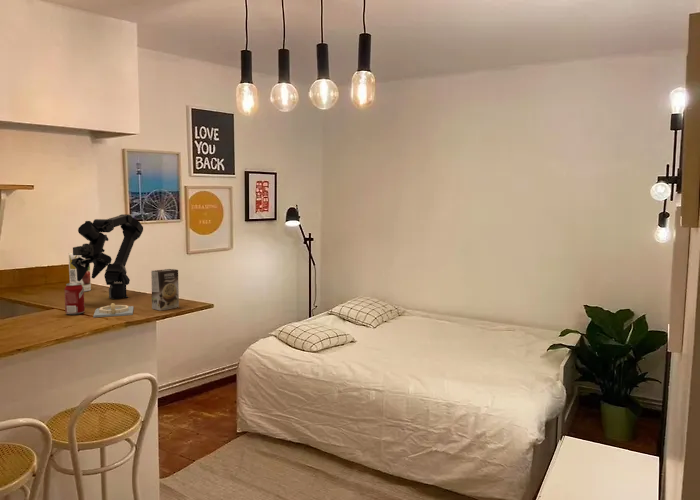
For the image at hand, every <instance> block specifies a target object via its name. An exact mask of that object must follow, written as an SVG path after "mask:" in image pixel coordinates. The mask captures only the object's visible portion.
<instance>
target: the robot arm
mask: <svg viewBox="0 0 700 500" xmlns="http://www.w3.org/2000/svg"><path fill="white" fill-rule="evenodd" d="M119 226H120V229H121V230H122V234H123V239H122V242H121V244H120V246H119V249H118V252H117V255H116V257H115V259H114V262H112V260H113V259H112V257H111V256H110V255H108V254H106V253H105V250H106V249H104V247H105V243H106V241H107V242H108V241H109V237H108V236H107V234H105V233H111V232H112V231H114V229H115V228H117V227H119ZM77 231H78V233H79V235H81V237H83V238H84V239H85V240H87V241H89V242H88V243H83V244H82V245H79V246H78V245H77V246H74V247H72V253H73V255H82V256H81V257H83V258H85V259H82V258H80V257H79V258H75V259H72V262H71V264H72V265H73V266H75V268H76V270H77V281H81V279H82V278H83V276H84V275H85V273H86V272H87V271H88V267H89V265H90V266H91V264H93V269H92V273H91V279H95V278H96V277H97V276H98V275H99V274H101V272H102V271H104V269H105V268H106V269H105V272H104V279H105V283H106V285H107V286H109V288H108V298H109V299H111V300H118V299H127V298H129V296H127V285H128V286H129V285H130V281H131V280H130V278H129V275H127V269H126V264H127V262H128V260H129V257H130V254H131V251H132V249H133V247H134V243H135V242H136V241H137V240H138V239H139V238H140V237H141V236H142V234H143V232H144V226H143V225H142V223H141V222H140V221H139V220H137V219H135V218H134V217H133V216H132V215H131V214H119V215H117V216H113V217H109V218H106V219H105V218H102V219H101V218H96V219H94V220H93V222H92V221H90V220H86V221H85V222H84V223H83V224H81V225H80V226H79V227H78V229H77Z"/></svg>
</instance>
